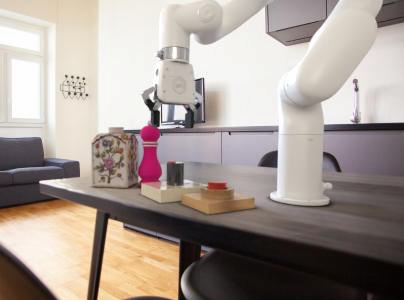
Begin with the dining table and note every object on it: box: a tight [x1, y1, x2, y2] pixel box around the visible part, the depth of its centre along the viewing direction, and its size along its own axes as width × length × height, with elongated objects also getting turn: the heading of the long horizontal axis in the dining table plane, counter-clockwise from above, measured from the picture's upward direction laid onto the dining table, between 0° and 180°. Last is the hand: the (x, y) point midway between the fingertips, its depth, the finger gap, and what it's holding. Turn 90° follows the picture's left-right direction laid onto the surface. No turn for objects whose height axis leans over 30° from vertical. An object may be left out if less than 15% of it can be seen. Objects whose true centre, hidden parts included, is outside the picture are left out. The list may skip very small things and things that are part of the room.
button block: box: [181, 184, 255, 215], centre depth 64 cm, size 12×10×4 cm
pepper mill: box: [138, 119, 163, 188], centre depth 87 cm, size 7×7×20 cm
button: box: [207, 179, 228, 190], centre depth 64 cm, size 4×4×2 cm
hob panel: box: [140, 179, 207, 204], centre depth 74 cm, size 14×11×3 cm
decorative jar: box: [90, 126, 140, 189], centre depth 91 cm, size 12×12×18 cm
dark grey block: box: [166, 160, 185, 186], centre depth 74 cm, size 4×4×6 cm
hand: (172, 127), depth 74 cm, fingers open, 9 cm apart
